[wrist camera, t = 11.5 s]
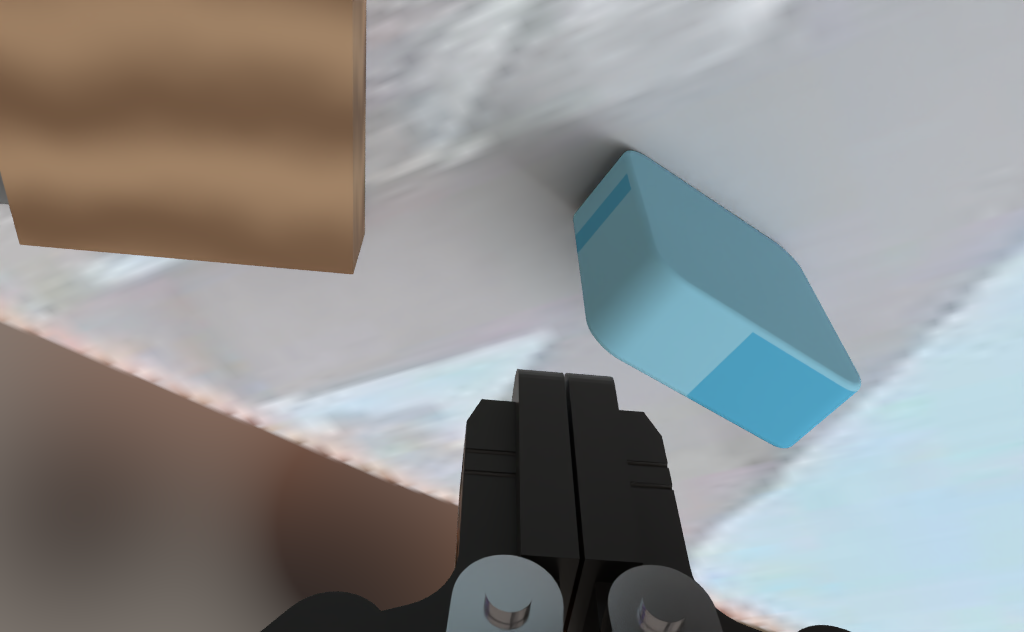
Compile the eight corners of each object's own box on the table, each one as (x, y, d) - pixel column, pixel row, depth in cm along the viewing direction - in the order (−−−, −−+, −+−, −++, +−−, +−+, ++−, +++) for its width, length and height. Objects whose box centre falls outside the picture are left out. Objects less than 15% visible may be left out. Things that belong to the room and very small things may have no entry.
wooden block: (-24, -140, 34) (-80, -126, 31) (366, -93, 35) (352, -76, 32) (56, 205, 43) (19, 244, 40) (364, 234, 44) (352, 274, 41)
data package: (569, 205, 44) (586, 344, 34) (622, 139, 41) (657, 265, 32) (738, 310, 47) (798, 462, 38) (795, 254, 45) (874, 399, 36)
